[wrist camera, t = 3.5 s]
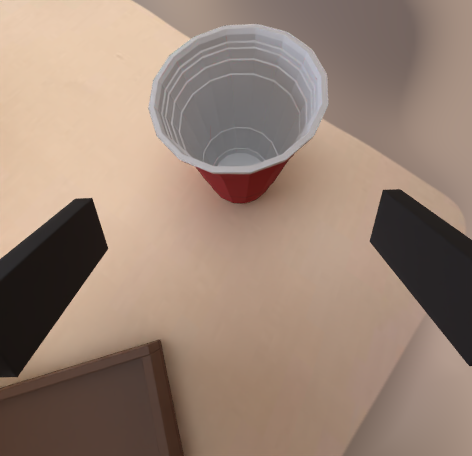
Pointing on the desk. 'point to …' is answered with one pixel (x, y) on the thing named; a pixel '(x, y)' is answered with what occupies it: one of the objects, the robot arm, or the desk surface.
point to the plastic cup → (239, 105)
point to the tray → (93, 409)
